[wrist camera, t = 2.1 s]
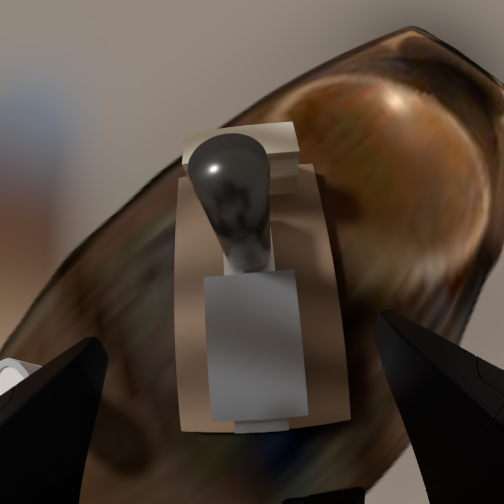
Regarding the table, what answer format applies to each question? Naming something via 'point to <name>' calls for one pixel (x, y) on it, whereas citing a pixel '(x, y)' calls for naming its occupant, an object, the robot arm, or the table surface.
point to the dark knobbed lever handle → (237, 216)
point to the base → (311, 296)
